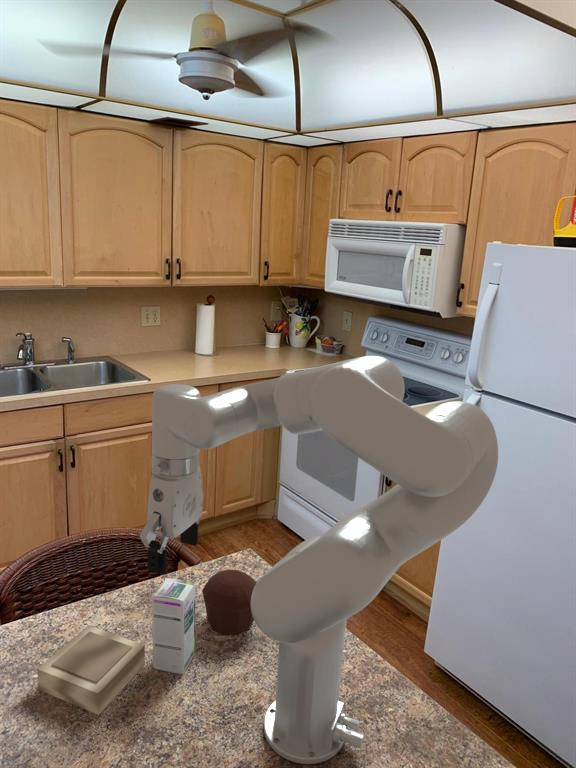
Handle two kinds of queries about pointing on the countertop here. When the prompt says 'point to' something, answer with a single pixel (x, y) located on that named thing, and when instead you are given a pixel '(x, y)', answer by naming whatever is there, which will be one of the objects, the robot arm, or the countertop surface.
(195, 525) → the robot arm
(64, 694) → the base block
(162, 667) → the syrup box
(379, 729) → the countertop surface
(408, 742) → the countertop surface
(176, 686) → the countertop surface
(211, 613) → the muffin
